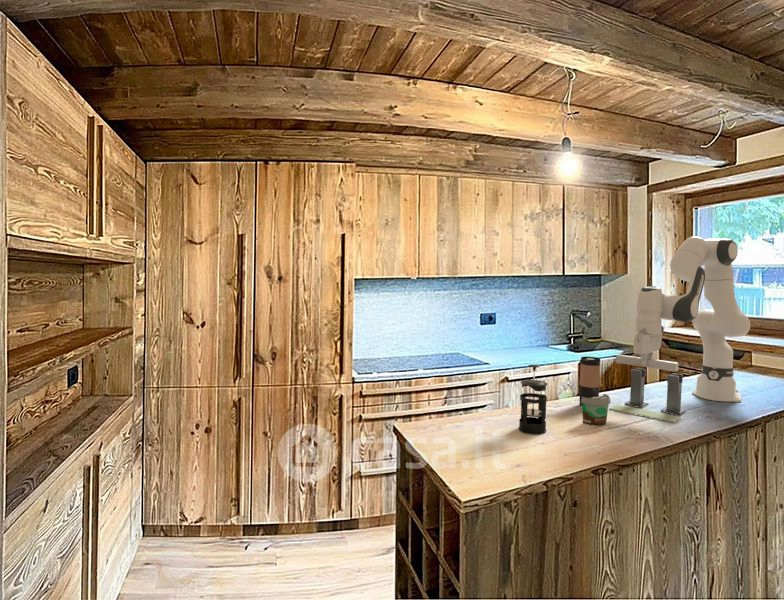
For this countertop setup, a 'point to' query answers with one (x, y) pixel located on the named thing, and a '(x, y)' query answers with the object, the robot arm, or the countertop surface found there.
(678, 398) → the posts
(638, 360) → the rail
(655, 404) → the countertop surface
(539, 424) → the french press
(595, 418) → the food container
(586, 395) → the travel mug
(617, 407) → the mat
